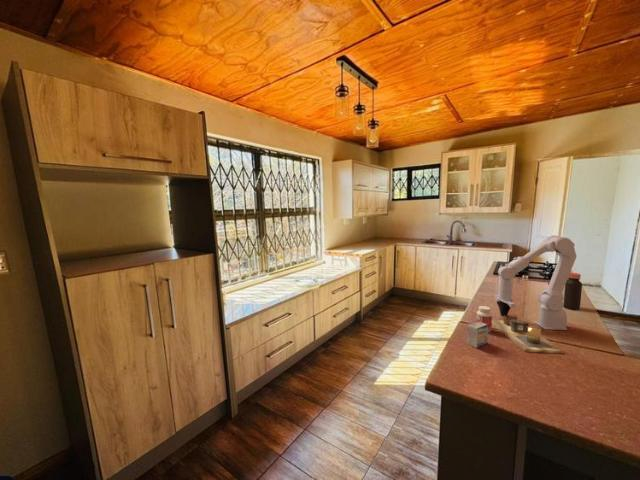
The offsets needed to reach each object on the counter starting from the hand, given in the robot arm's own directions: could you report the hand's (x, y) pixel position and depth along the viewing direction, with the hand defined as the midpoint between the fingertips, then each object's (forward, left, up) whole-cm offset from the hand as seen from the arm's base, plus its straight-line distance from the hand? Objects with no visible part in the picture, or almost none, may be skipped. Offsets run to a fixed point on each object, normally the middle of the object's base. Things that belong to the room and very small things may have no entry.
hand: (503, 315), depth 133 cm
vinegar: (-46, -21, -3) cm, 51 cm away
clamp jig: (0, +15, -3) cm, 15 cm away
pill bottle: (+14, +10, -3) cm, 18 cm away
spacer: (0, +23, -2) cm, 23 cm away
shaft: (0, +9, -2) cm, 9 cm away
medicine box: (+23, +24, -3) cm, 34 cm away
